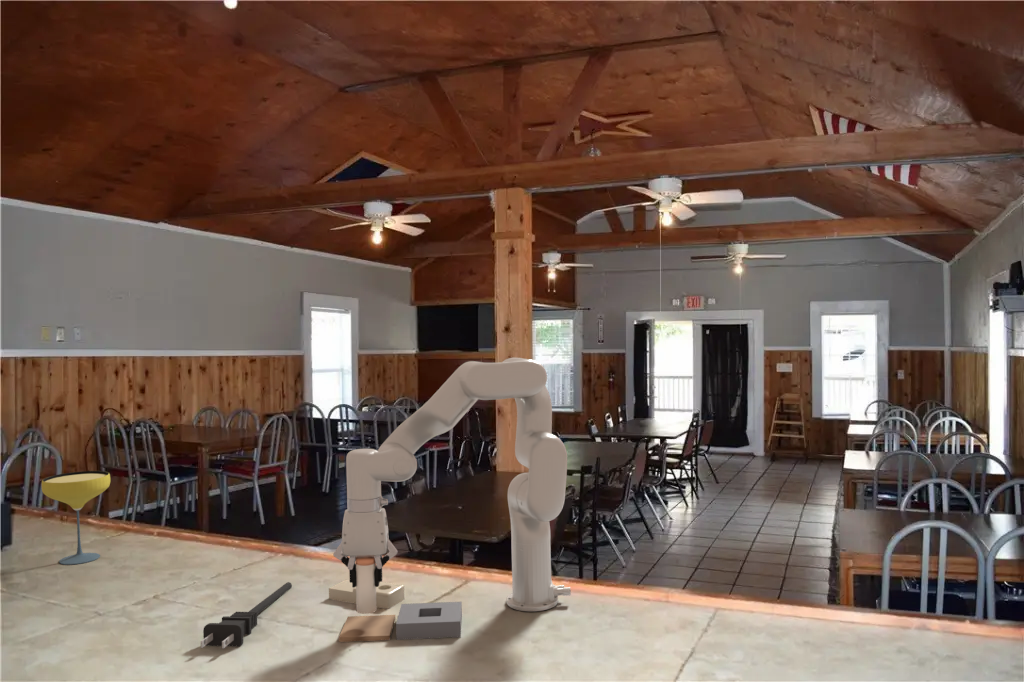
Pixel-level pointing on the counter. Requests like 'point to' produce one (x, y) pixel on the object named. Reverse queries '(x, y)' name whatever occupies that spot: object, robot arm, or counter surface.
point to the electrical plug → (237, 624)
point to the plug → (365, 584)
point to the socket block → (429, 620)
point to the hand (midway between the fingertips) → (366, 584)
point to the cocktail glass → (76, 500)
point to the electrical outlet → (385, 593)
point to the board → (367, 628)
